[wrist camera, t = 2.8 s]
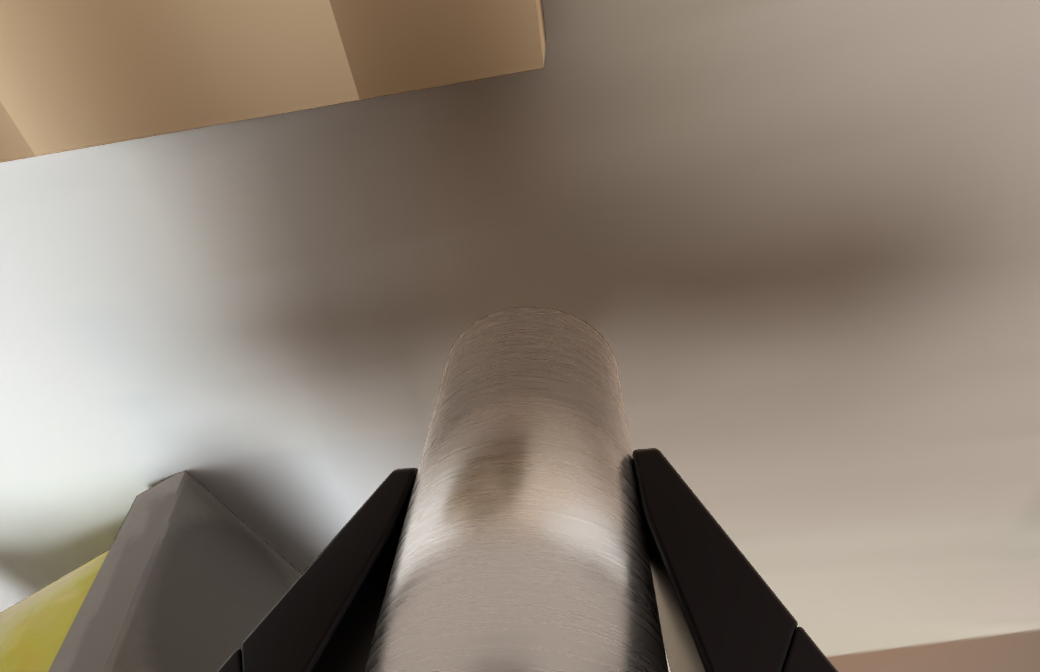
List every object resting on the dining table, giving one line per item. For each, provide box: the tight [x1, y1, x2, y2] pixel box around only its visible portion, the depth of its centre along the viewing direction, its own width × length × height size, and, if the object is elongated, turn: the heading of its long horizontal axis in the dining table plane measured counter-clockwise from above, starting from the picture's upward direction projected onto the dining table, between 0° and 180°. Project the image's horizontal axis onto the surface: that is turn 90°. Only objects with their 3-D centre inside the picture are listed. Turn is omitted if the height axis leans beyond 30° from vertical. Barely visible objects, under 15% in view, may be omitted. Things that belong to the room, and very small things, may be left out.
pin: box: [364, 307, 668, 672], centre depth 8 cm, size 4×4×8 cm
